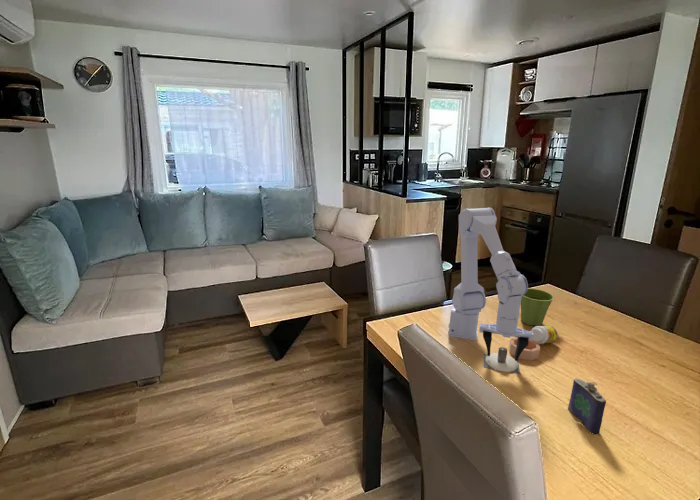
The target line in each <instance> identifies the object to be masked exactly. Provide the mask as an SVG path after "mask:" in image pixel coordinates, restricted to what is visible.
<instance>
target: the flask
mask: <svg viewBox="0 0 700 500" xmlns="http://www.w3.org/2000/svg"><path fill="white" fill-rule="evenodd" d="M597 385H598V383H597V382H594V381H593V382H588V381H587V382H585V381H584V380H583V379H581V378H574V379H573V383H572V388H571V393H570V398H569V403H568V407H567V410H568V411H569V412H570V413H571V414H573V415H574V416H575V417H576V418H577V419H578V420H579V421H580V424H581V425H582V424H583V425H584V426H583V425H582V426H583V427H586V428H585V429H586V430H587V431H588V433H590V432H591V433H590V434H592V433H593V434H592V435H594V434H598V435H600V430H601V428H602V427H601V426H602V422H603V417H604V413H605V407H606V403H607V400H606V399H605V397H604V396H603V395H602V394H601V393H600V392H599V391H598V389H597V388H596V387H595V386H597Z"/></svg>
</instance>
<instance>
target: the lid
mask: <svg viewBox="0 0 700 500" xmlns="http://www.w3.org/2000/svg"><path fill="white" fill-rule="evenodd" d="M485 362H486V364H487V365H488V366H489V367H491V368H493V369H492V370H494V369H495V371H498V372H502V373H510V372H512V371H515V370H516V369H517V366H518V363H519V362H518V363H517V361H515V357H514V358H513V357H512V356H511V355H510V356H509V355H508V348H506V347H504V346H501V347H498V352H490V356H486V360H485Z"/></svg>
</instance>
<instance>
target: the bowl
mask: <svg viewBox="0 0 700 500" xmlns="http://www.w3.org/2000/svg"><path fill="white" fill-rule="evenodd" d="M517 338H518V337H510V340H509V345H508V348H509V351H508V352H509V354H510V355H512V356H514V357H515V351H516V347H517ZM528 342H529V343H528V345H527V347H526V348H525V349H524V350H523V351H522V353H521V354H520V356H519V358H518V360H525V361H534V360H537V359H540V354H541V346H540V344H539V343H537V342H535V341H531V340H528Z"/></svg>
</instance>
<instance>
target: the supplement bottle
mask: <svg viewBox="0 0 700 500" xmlns="http://www.w3.org/2000/svg"><path fill="white" fill-rule="evenodd" d="M530 331H532V332H533V341H535V342H537V343H539V345H541V344H551V343H554V342H556V341H557V340H558V336H559V334H558V331H557V329H556V328H555V327H554V326H551V325H540V326H534V327H532V329H531V330H530Z"/></svg>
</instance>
